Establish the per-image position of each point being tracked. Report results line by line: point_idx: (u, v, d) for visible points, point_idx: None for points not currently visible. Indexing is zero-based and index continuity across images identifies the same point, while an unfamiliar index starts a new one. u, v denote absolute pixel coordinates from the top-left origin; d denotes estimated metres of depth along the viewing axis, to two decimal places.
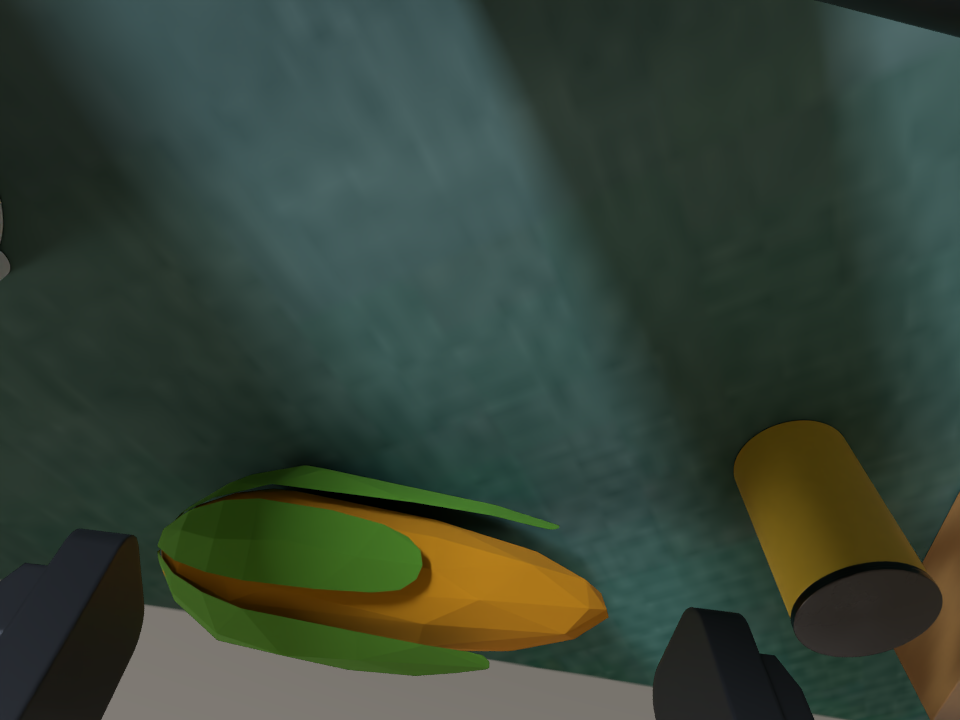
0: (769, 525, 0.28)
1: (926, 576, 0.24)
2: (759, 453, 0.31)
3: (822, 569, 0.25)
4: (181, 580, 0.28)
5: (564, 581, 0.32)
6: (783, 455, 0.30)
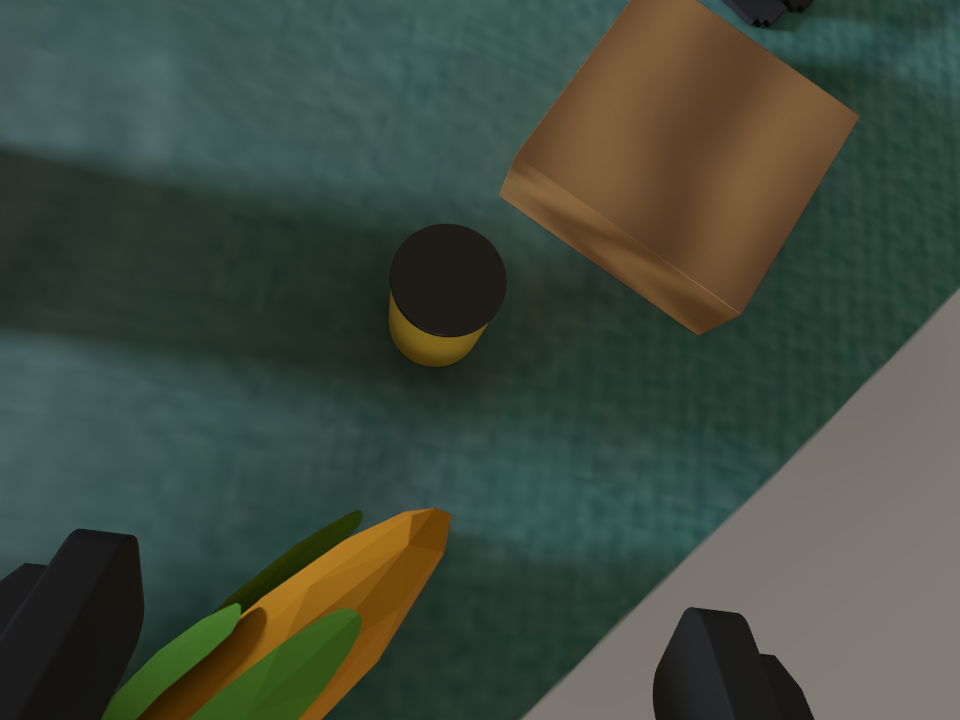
0: (402, 333, 0.34)
1: (427, 227, 0.32)
2: (391, 331, 0.38)
3: None
4: None
5: (383, 524, 0.33)
6: None
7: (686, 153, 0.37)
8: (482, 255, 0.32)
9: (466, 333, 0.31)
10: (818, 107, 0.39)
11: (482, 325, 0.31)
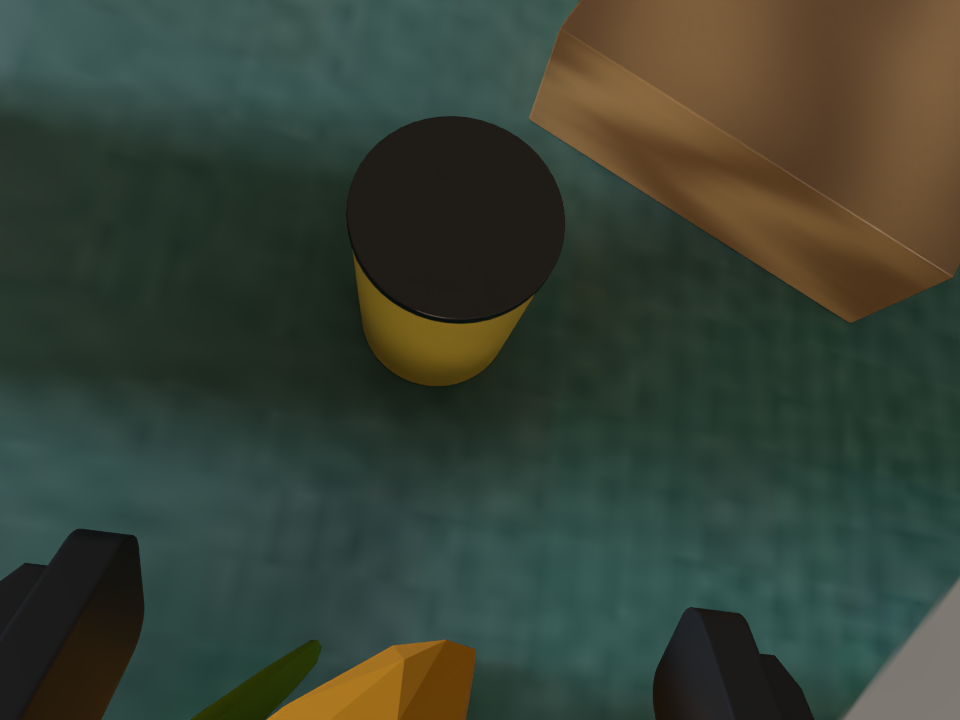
0: (380, 327, 0.20)
1: (414, 122, 0.17)
2: (365, 329, 0.23)
3: None
4: None
5: (352, 673, 0.18)
6: None
7: (835, 23, 0.23)
8: (518, 170, 0.17)
9: (495, 314, 0.16)
10: None
11: (524, 298, 0.16)
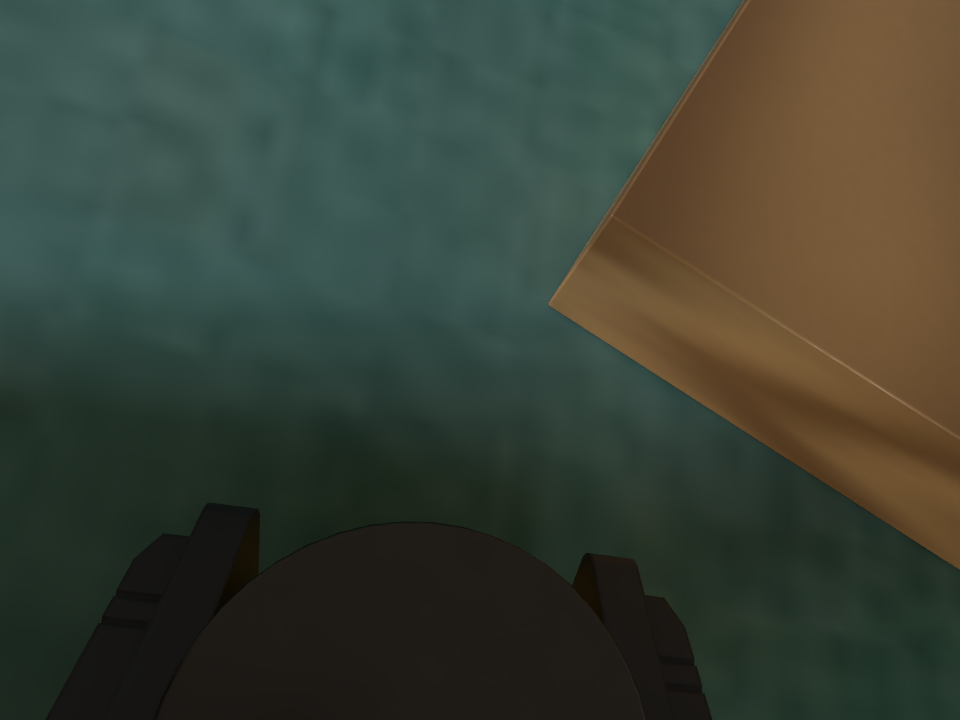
0: None
1: (312, 543, 0.07)
2: None
3: None
4: None
5: None
6: None
7: None
8: (548, 655, 0.07)
9: None
10: None
11: None
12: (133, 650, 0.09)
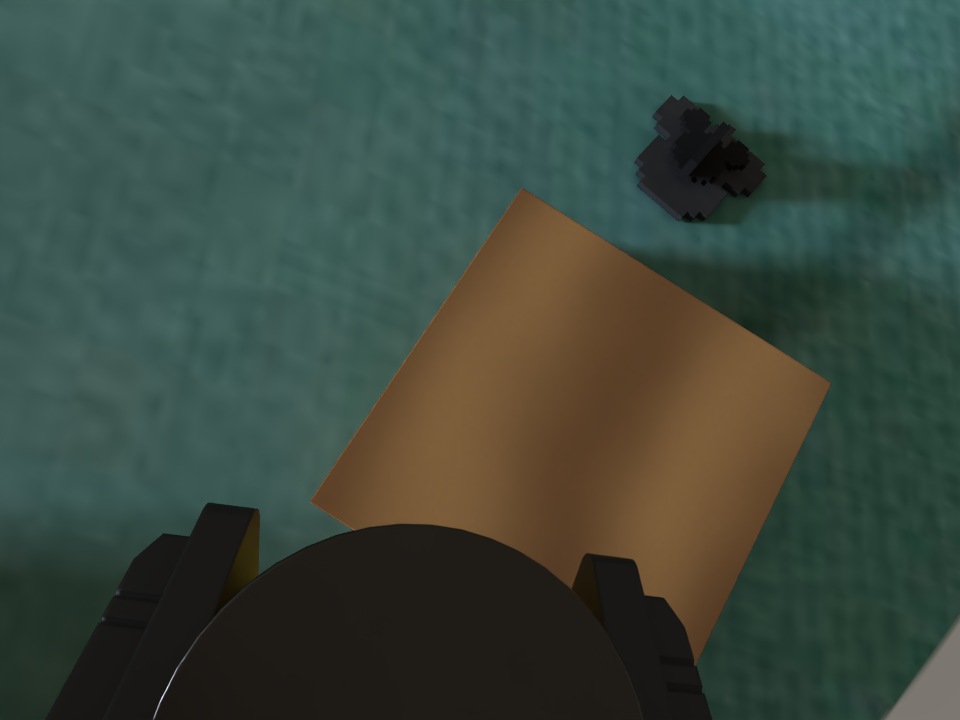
0: None
1: (311, 545, 0.07)
2: None
3: None
4: None
5: None
6: None
7: (574, 470, 0.25)
8: (546, 657, 0.07)
9: None
10: (769, 375, 0.27)
11: None
12: (133, 650, 0.09)
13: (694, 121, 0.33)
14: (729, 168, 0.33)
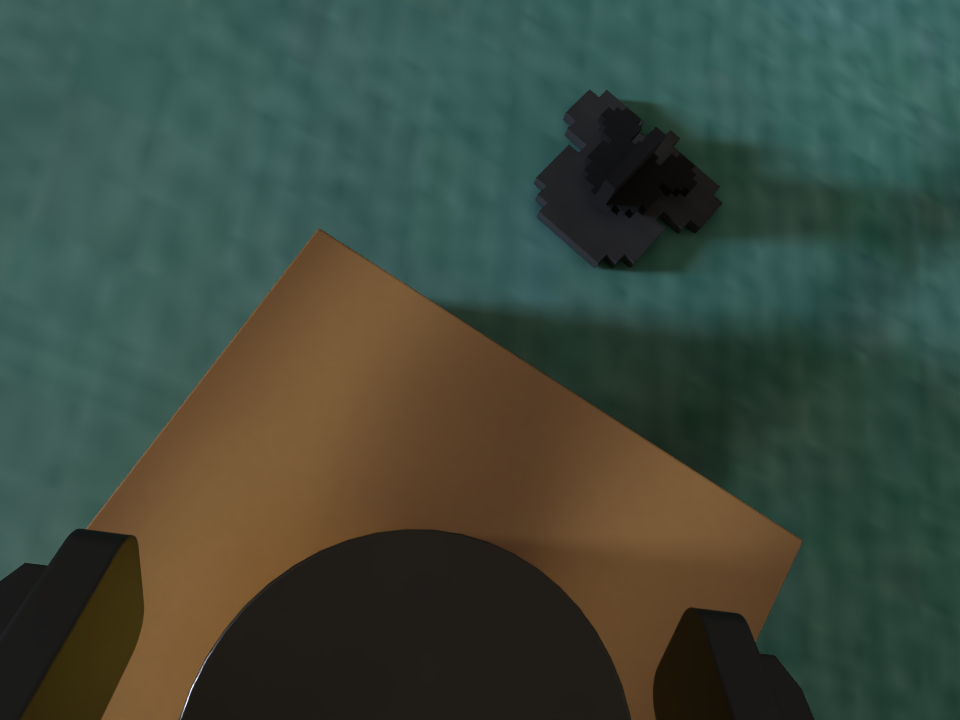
0: None
1: (325, 548, 0.08)
2: None
3: None
4: None
5: None
6: None
7: None
8: (539, 650, 0.08)
9: None
10: (704, 530, 0.17)
11: None
12: None
13: (617, 126, 0.23)
14: (667, 193, 0.23)
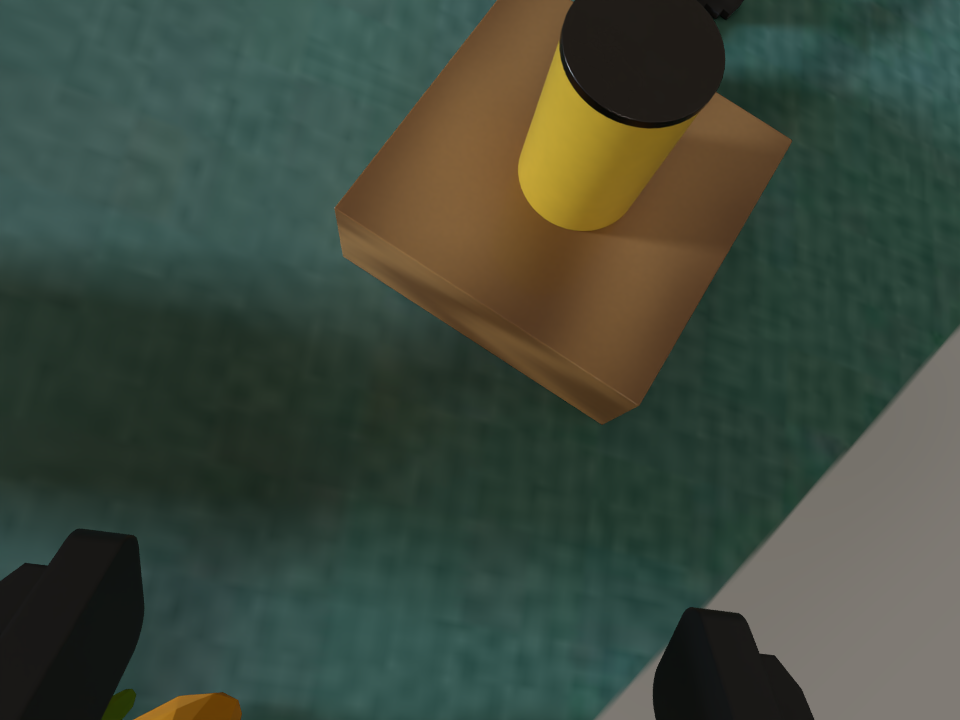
0: (559, 157, 0.25)
1: None
2: (527, 179, 0.28)
3: (561, 71, 0.22)
4: None
5: (141, 718, 0.24)
6: (525, 149, 0.27)
7: None
8: (688, 16, 0.22)
9: (675, 120, 0.21)
10: (737, 131, 0.31)
11: (697, 109, 0.21)
12: None
13: None
14: None
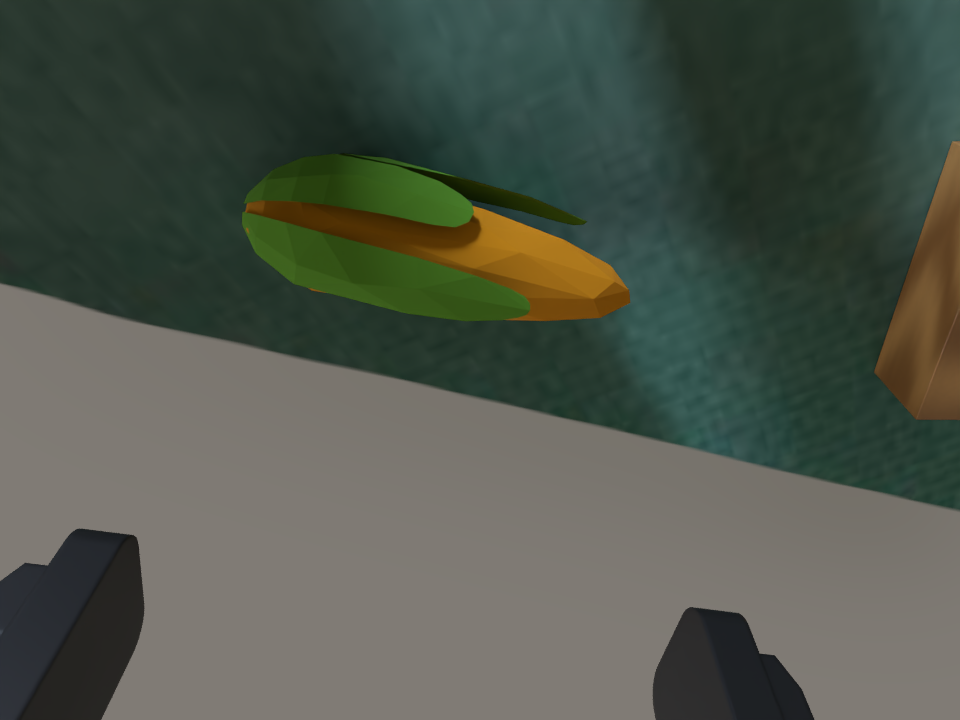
0: None
1: None
2: None
3: None
4: (267, 219, 0.33)
5: (592, 259, 0.36)
6: None
7: None
8: None
9: None
10: None
11: None
12: None
13: None
14: None
